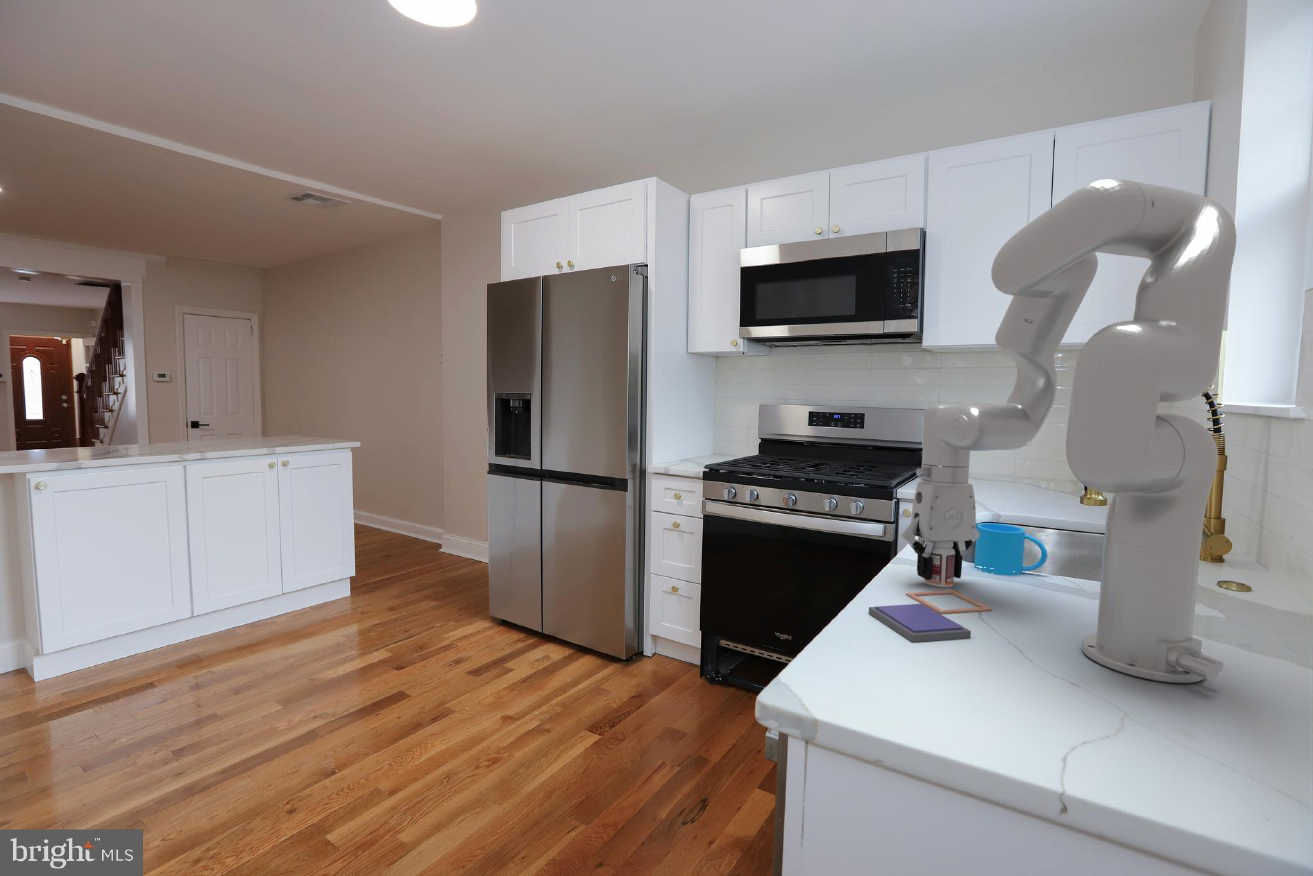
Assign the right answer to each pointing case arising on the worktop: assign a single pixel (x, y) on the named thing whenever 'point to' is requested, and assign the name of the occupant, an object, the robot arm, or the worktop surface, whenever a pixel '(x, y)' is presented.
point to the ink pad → (919, 623)
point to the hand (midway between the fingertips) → (938, 575)
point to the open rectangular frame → (982, 608)
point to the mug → (1004, 549)
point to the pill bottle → (942, 565)
